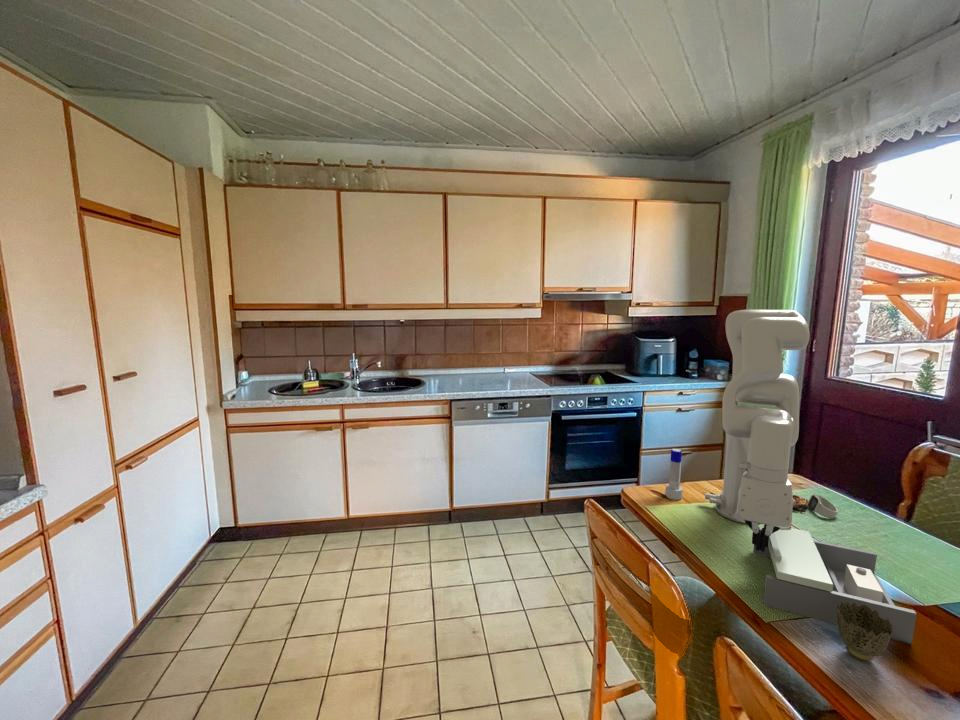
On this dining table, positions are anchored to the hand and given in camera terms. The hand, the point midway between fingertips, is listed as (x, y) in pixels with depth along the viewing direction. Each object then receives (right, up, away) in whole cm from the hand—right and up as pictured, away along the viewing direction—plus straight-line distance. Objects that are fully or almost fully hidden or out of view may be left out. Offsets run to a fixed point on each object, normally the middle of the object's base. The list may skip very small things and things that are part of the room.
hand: (759, 547), depth 98 cm
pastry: (+33, -2, +35) cm, 48 cm away
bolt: (-2, -1, +40) cm, 40 cm away
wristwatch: (+38, -3, +30) cm, 48 cm away
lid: (+6, -1, -3) cm, 7 cm away
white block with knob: (+17, -8, -7) cm, 20 cm away
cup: (+4, -10, -21) cm, 24 cm away
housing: (+11, -8, -4) cm, 14 cm away
